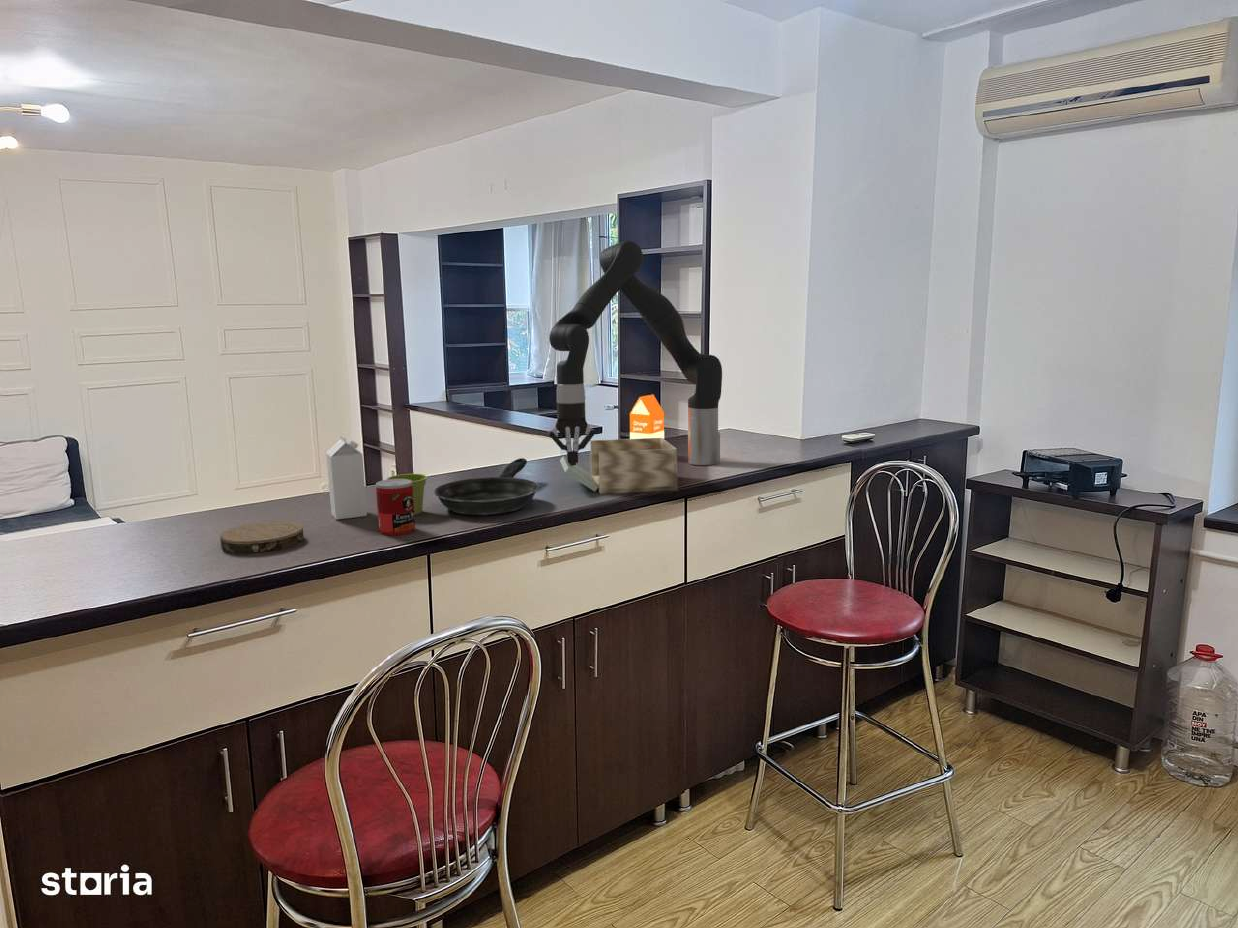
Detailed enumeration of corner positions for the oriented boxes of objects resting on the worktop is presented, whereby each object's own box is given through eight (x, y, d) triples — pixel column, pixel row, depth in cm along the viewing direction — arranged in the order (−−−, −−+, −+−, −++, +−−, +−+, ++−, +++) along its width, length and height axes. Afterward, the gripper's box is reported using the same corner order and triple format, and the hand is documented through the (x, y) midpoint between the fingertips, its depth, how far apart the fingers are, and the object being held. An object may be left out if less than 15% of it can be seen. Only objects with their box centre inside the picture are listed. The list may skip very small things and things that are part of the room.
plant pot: (437, 512, 195) (435, 477, 194) (402, 520, 189) (400, 483, 187) (415, 506, 202) (412, 472, 200) (381, 513, 195) (378, 478, 193)
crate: (662, 475, 234) (661, 437, 232) (677, 490, 215) (677, 449, 213) (591, 478, 231) (590, 440, 229) (600, 494, 212) (599, 452, 210)
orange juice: (664, 456, 264) (664, 394, 260) (650, 461, 257) (650, 397, 253) (643, 454, 268) (643, 393, 264) (629, 458, 261) (628, 396, 257)
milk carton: (335, 520, 189) (329, 439, 186) (331, 514, 195) (324, 435, 192) (367, 516, 192) (361, 436, 189) (361, 510, 199) (355, 433, 195)
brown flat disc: (319, 536, 177) (317, 522, 177) (272, 557, 162) (271, 543, 162) (255, 532, 181) (253, 519, 180) (203, 553, 166) (202, 539, 165)
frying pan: (520, 522, 186) (518, 493, 184) (417, 518, 191) (415, 490, 190) (570, 482, 228) (570, 458, 226) (485, 479, 233) (484, 456, 231)
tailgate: (590, 474, 229) (562, 456, 227) (598, 487, 213) (568, 467, 211) (587, 478, 230) (559, 460, 227) (594, 491, 213) (565, 472, 211)
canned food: (397, 537, 174) (393, 487, 172) (371, 532, 178) (367, 483, 176) (423, 529, 180) (420, 480, 178) (397, 524, 185) (394, 477, 183)
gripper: (593, 398, 221) (595, 461, 224) (544, 399, 219) (547, 463, 222) (597, 401, 213) (599, 466, 217) (546, 403, 211) (549, 468, 215)
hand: (572, 464), depth 219 cm, fingers closed
